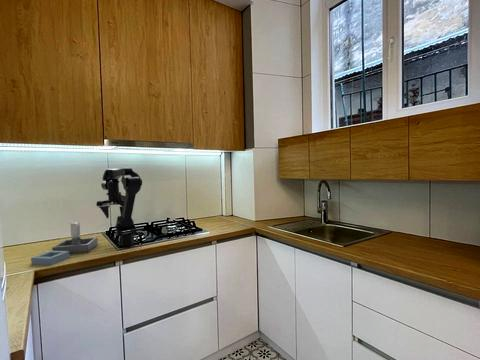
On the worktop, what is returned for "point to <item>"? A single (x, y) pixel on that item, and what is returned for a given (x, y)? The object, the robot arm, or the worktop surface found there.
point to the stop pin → (75, 233)
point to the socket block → (50, 258)
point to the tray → (77, 246)
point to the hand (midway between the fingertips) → (115, 218)
